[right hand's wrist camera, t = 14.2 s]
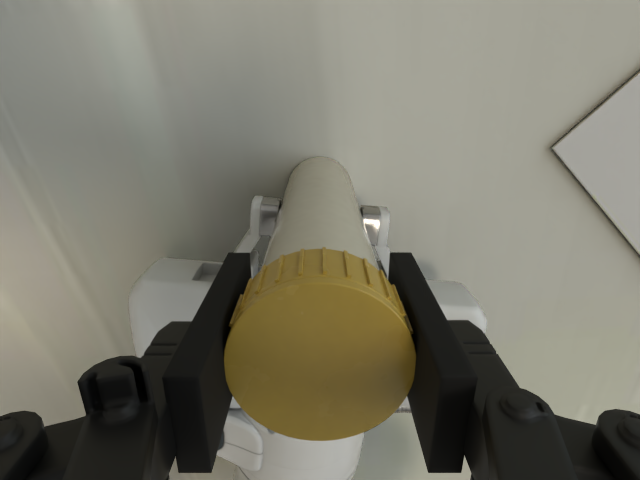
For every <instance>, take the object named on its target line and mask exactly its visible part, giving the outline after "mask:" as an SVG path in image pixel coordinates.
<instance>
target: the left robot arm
mask: <svg viewBox="0 0 640 480" xmlns="http://www.w3.org/2000/svg"><path fill="white" fill-rule="evenodd" d="M280 206H281V198H275V197H265V196H254V198H253V200H252V203H251V210H250V228H249V230H248V231H247V233H246V234H245V235H244V237H243V238H242V240H241V241H240V243H239V244H238V246H237V247H236V249H235V251H234V253H250V262H251V277H252V279H253V278H254V277H255V276H256V275H257V274H258V273H259V272H260V269H261V266H260V265H258V260H259V252H258V251H255V250H253V248H254V247H255V245H256V244H257V242H258V241H259V239H260V238H261V236H271V235H272V231H273V228H274V225H275V222H276V219H277V216H278V212H279V209H280ZM360 211H361V214H362V217H363V220H364V223H365V227H366V230H367V233H368V236H369V239H370V242H371V245H374V247H375V250H376V252H377V254H378V257H379V259H380V261H381V262H380V261H377V264H378V267H379V270H382V271H383V272H384V275H385V277H386V278H387V280H388V273H389V258H390V253H391V252H390V250H389V247H388V245H387V237H388V231H389V224H390V212H389V210H388V209H387V207H378V206H366V205H361V206H360ZM222 264H223V262H212V261H201V260H189V259H177V258H160V259H158V260H157V261H156V262H154V263H153V264H152V265H151V266H150V267H149V268H148V269H147V270H146V271H145V272H144V273H143V274H142V275H141V276H140V277H139V278H138V280H137V281H136V282H135V283H134V285H133V286H132V288H131V290H130V293H129V298H128V308H129V319H130V326H131V333H132V339H133V344H134V349H135V353H136V357H139V358H141V357H142V356H144V352H145V351H146V349H147V348H148V346H150V343H151V341H152V340H153V338H154V337H155V335H156V334H157V332H158V331H159V330H161V329H162V328H163V327H165V326H166V325H167V324H169V323H170V322H171V321H192V320H193V318H194V316H195V315H196V313H197V311H198V309H199V307H200V305H201V303H202V302H203V300H204V298H205V296H206V294H207V292H208V290H209V288H210V287H211V285H212V283H213V281H214V279H215V277H216V275H217V274H218V272H219V270H220V268H221V266H222ZM425 280H426V279H425ZM426 281H427V283H428V285H429V287H430V289H431V291H432V293H433V295H434V296H435V298H436V300H437V302H438V304H439V306H440V308H441V309H442V311H443V313H444V315H445V317H446V319H447V320H469V321H470V322H472V323H473V324H474V325H476V326H477V327H478V328H480V329H481V330H482V331H483V333H484V334H485V332H486V328H487V319H486V316H485V314H484V312H483V310H482V308H481V306H480V305H479V303H478V301H477V300H476V299H475V297H474V296H473V295H472V294H471V293H470V291H469V290H468V289H467V288H466V287H465V286H464V285H463V284H461V283H458V282H450V281H438V280H426ZM396 412H397V413H400V412H401V413H402V412H407V413H408V412H409V413H412V412H411V409H410V405H409V401H408V398H407V397H406V398H405V400H404V401H403V403H402V404H401V405H400V407H399V408H398V409H397V410H396V411H395V412H394V413H396ZM363 438H364V432H363V433H361V434H358V435H355V436H352V437H348V438H344V439H338V440H330V441H309V440H301V439H296V438H292V437H287V436H285V435H282V434H279V433H276V432H274V431H272V430H270V429H268V428H266V427H264V426H263V425H261V424H259V423H258V422H256V421H255V420H254V419H253V418H251V417H250V416H249V415H248V414H247V413H246V412H245V411H244V410H243V409H242V408H241V407H240V406H239V404H238V403H237V402H236V400H235V399H234V397H232V400H231V404H230V408H229V411H228V415H227V418H226V422H225V426H224V429H223V433H222V436H221V440H220V444H219V447H218V451H217V454H216V455H217V456H219V457H221V458H223V459H225V460H227V461H229V462H231V463H233V464H235V465H237V466H236V469H235V472H234V477H233V480H352V477H353V475H354V473H355V471H356V469H357V466H358V463H359V460H360V455H361V449H362V444H363Z"/></svg>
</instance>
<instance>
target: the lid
mask: <svg viewBox="0 0 640 480" xmlns="http://www.w3.org/2000/svg"><path fill="white" fill-rule="evenodd" d="M229 327H231V329H230V332H229V335H228V338H227V341H226V345H225V348H224V368H225V377H226V382H227V385H228V387H229V390H230V392H231V394H232V395H233V397H234V399H235V400H236V402H237V403H238V404H239V406H240V407H241V408H242V409H243V410H244V411H245V412H246V413H247V414H248V415H249V416H250V417H251V418H253V419H254V420H255V421H256V422H258V423H259V424H261V425H263V426H264V427H266V428H268V429H270V430H272V431H274V432H276V433H279V434H282V435H285V436H287V437H292V438H296V439H301V440H309V441H330V440H338V439H344V438H348V437H352V436H355V435H358V434H361V433H363V432H366V431H368V430H370V429H372V428H374V427H376V426H377V425H379V424H380V423H382V422H383V421H385V420H386V419H387V418H388V417H390V416H391V415H392V414H393V413H394V412H395V411H396V410H397V409H398V408H399V407H400V405H401V404H402V403H403V401H404V400H405V398H406V397H407V395H408V393H409V391H410V389H411V387H412V384H413V381H414V374H415V365H416V350H415V345H414V342H413V339H412V336H411V334H413V330H412V327H411V324H410V322H409V319H408V316H407V314H406V311H405V308H404V306H403V303H402V301H400V298H399V295H398V293H397V290H396V287H395V285H394V284H393V285H391V284H390V282H389V281H388V280H387V278H386V277H385V275H384V272H383V271H382V270H380V271H379V270H378V269H377V268H375V267H374V266H373V265H372V264H370V263H368V261H367V259H366V258H364V259H362V258H359V257H357V256H355V255H352V254H349V253H348V251H346V250H344V252H342V251H338V250H332V249H326V247H322V249H308V250H304V248H303V249H300V251H297V252H294V253H291V254H288V255H285V256H284V255H283V254H282V255H280V258H279V259H276V260H274V261H273V262H271V263H270V264H268V265H267V266H266V265H263V266H262V269H261V271H260V272H259V273H258V274H257V275H256V276H255V277H254V278H253V279H251V278H250V279H249V281H248V283H247V286H246V289H245V292H244V294H243V295H242V294H240V297H239V299H238V302H237V305H236V307H235V310H234V313H233V315H232V318H231V321H230V323H229Z"/></svg>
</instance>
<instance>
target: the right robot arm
mask: <svg viewBox="0 0 640 480" xmlns="http://www.w3.org/2000/svg"><path fill="white" fill-rule="evenodd" d="M250 278H251V279H252V277H251V262H250V253H228V255H227V257H226V259H225V260H224V262H223V264H222V266H221V268H220V270H219V272H218V274H217V275H216V277H215V279H214V281H213V283H212V285H211V287H210V288H209V290H208V292H207V294H206V296H205V298H204V300H203V302H202V303H201V305H200V307H199V309H198V311H197V313H196V315H195V316H194V318H193V320H192V321H171V322H170V323H169V324H167V325H166V326H165V327H163V328H162V329H161V330H159V331H158V332H157V334H156V335H155V337H154V338H153V340H152V341H151V343H150V346H148V348H147V349H146V351H145V352H144V356H142V357H141V358H139V357H135V356H119V357H115V358H111V359H107V360H105V361H103V362H100V363H98V364H96V365H94V366H93V367H91V368H90V369H89V370H87V371H86V372H85V373H84V374H83V375H82V376H81V378H80V379H79V380H78V386H79V389H80V393H81V397H82V401H83V404H84V408H85V412H86V416H85V417H81V418H78V419H75V420H71V421H66V422H62V423H58V424H54V425H49V426H45V427H44V424H43V421H42V418H41V417H40V416H39V415H38V414H36V413H35V412H29V411H20V412H13V413H9V414H6V415H3V416H0V480H170V479H169V472H170V469H171V467H172V464H173V461H174V459H175V456H176V461H177V466H178V472H179V473H211V472H212V469H213V465H214V462H215V458H216V454H217V451H218V447H219V444H220V440H221V436H222V433H223V429H224V426H225V422H226V418H227V415H228V411H229V408H230V404H231V400H232V397H233V395H232V394H231V392H230V390H229V387H228V385H227V382H226V377H225V368H224V348H225V345H226V341H227V338H228V335H229V332H230V329H231V327H229V323H230V321H231V318H232V315H233V313H234V310H235V307H236V305H237V302H238V299H239V297H240V294H242V295H243V294H244V292H245V289H246V286H247V283H248V281H249V279H250ZM388 281H389V282H390V284H391V285H393V284H394V285H395V287H396V290H397V293H398V295H399V298H400V301H402V303H403V306H404V308H405V311H406V314H407V316H408V319H409V322H410V324H411V327H412V330H413V334H411V336H412V339H413V342H414V345H415V350H416V365H415V374H414V381H413V384H412V387H411V389H410V391H409V393H408V395H407V398H408V401H409V405H410V409H411V412H412V416H413V419H414V423H415V427H416V430H417V434H418V437H419V441H420V445H421V448H422V452H423V455H424V459H425V463H426V466H427V470H428V473H461V471H462V465H463V459H464V455H465V457H466V460H467V463H468V465H469V468H470V470H471V473H472V474H471V479H470V480H640V415H639V414H637V413H634V412H631V411H625V410H618V409H613V410H607V411H604V412H603V413H602V414H601V415H600V416H599V417H598V420H597V423H596V425H593V424H589V423H585V422H581V421H576V420H572V419H568V418H564V417H561V416H557V415H554V413H553V412H552V410H551V408H550V407H549V405H548V404H547V403H546V402H545V401H543V400H542V399H541V398H540V397H539V396H537V395H535V394H533V393H531V392H529V391H527V390H525V389H521V388H519V386H518V384H517V383H516V381H515V380H514V378H513V377H512V375H511V374H510V372H509V371H508V369H507V368H506V366H505V365H504V363H503V362H502V360H501V359H500V357H499V355H498V354H496V351H495V349H494V348H493V346H492V345H491V344H490V342H489V340H488V339H487V337H486V336H485V334H484V333H483V331H482V330H481V329H480V328H478V327H477V326H476V325H474V324H473V323H472V322H470V321H469V320H447V319H446V317H445V315H444V313H443V311H442V309H441V308H440V306H439V304H438V302H437V300H436V298H435V296H434V295H433V293H432V291H431V289H430V287H429V285H428V283H427V281H426V280H425V278H424V276H423V274H422V272H421V270H420V268H419V267H418V265H417V263H416V261H415V259H414V257H413V255H412V253H390V258H389V273H388Z"/></svg>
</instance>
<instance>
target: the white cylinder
mask: <svg viewBox="0 0 640 480" xmlns="http://www.w3.org/2000/svg"><path fill="white" fill-rule="evenodd" d="M322 247H326V249H332V250H338V251H342V252H344V250H346V251H348V253H349V254H352V255H355V256H357V257H359V258H362V259H364V258H366V259H367V261H368V263H370V264H372V265H373V266H374V267H375V268H377V269H378V270H379V267H378V264H377V261H376V258H375V255H374V252H373V248H372V245H371V242H370V239H369V236H368V233H367V230H366V227H365V223H364V220H363V217H362V214H361V211H360V208H359V205H358V201H357V198H356V195H355V192H354V189H353V186H352V183H351V180H350V177H349V175H348V173H347V171H346V170H345V168H344V167H343V166H342V165H341V164H339V163H338V162H336V161H335V160H333V159H330V158H326V157H313V158H310V159H307V160H305V161H303V162H301V163H300V164H299V165H298V166H297V167H296V168H295V169H294V170H293V172H292V173H291V175H290V178H289V181H288V184H287V187H286V190H285V194H284V197H283V200H282V203H281V206H280V209H279V212H278V216H277V219H276V222H275V225H274V228H273V231H272V235H271V238H270V241H269V244H268V247H267V250H266V254H265V257H264V260H263V263H262V266H263V265H266V266H267V265H268V264H270V263H271V262H273V261H274V260H276V259H279V258H280V255H282V254H283V255H284V256H285V255H288V254H291V253H294V252H297V251H300V249H303V248H304V250H308V249H322ZM262 266H261V269H262ZM261 269H260V271H261ZM379 271H380V270H379Z"/></svg>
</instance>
